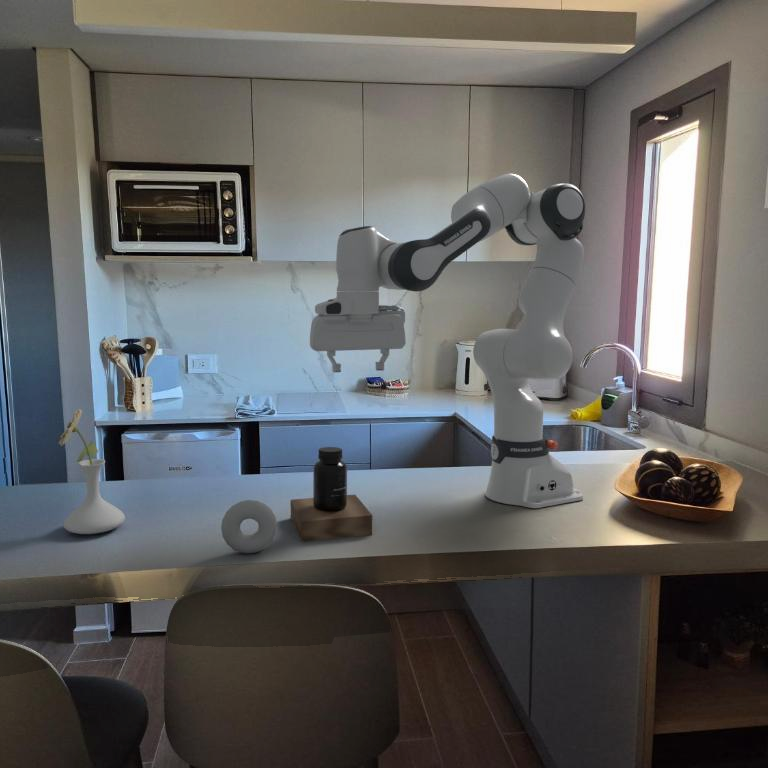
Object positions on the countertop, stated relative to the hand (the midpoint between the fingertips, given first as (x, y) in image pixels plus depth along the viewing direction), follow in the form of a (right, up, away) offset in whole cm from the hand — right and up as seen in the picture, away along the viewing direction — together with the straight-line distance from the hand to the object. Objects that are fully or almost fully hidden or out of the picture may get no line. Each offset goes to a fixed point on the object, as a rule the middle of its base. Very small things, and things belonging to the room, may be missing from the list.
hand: (358, 371), depth 143 cm
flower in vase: (-53, -32, -9) cm, 62 cm away
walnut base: (-6, -32, -5) cm, 33 cm away
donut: (-19, -34, -20) cm, 44 cm away
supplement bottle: (-6, -28, -6) cm, 29 cm away
